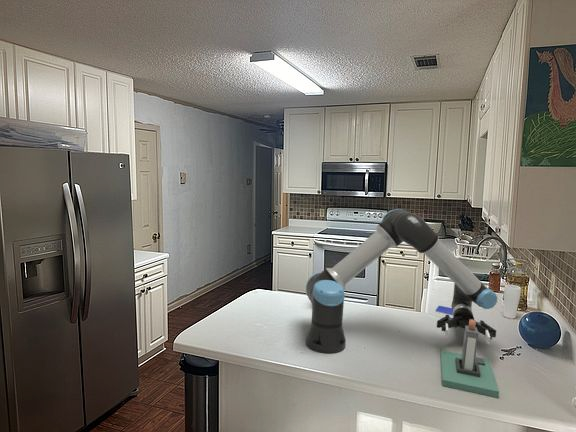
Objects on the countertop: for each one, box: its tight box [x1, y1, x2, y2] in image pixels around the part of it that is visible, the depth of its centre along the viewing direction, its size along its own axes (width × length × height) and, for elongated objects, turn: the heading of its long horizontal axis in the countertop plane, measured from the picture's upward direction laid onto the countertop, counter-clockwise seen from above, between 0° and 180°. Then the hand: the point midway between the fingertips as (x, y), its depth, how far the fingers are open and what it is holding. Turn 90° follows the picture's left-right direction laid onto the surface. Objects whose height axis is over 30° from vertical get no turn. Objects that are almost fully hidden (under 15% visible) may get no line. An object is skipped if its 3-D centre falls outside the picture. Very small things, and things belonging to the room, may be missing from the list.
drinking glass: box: [502, 283, 522, 320], centre depth 186 cm, size 7×7×15 cm
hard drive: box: [435, 305, 453, 317], centre depth 190 cm, size 2×8×12 cm
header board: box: [440, 349, 500, 398], centre depth 132 cm, size 22×16×3 cm
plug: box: [461, 319, 479, 371], centre depth 131 cm, size 5×4×19 cm, turn 160°
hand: (467, 337), depth 139 cm, fingers open, 13 cm apart
